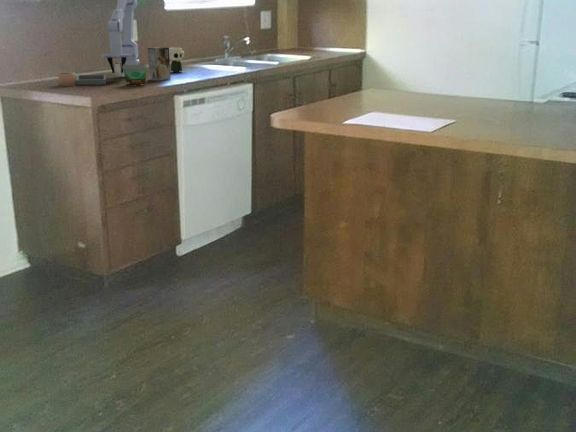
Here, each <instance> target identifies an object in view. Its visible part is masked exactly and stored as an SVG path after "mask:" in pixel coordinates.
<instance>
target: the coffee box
mask: <svg viewBox="0 0 576 432" xmlns="http://www.w3.org/2000/svg"><path fill="white" fill-rule="evenodd" d="M169 48H170V47H164V46H157V47H147V57H148V58H147V60H148V77H149V81H155V80H156V81H165V80H171V62H170V61H171V60H170V58H169Z"/></svg>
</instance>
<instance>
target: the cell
mask: <svg viewBox="0 0 576 432" xmlns="http://www.w3.org/2000/svg"><path fill="white" fill-rule="evenodd" d="M113 70H114V73H113V76H114V77H122V62H121V63H120V62H118V61H116V62H113Z"/></svg>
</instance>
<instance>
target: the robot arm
mask: <svg viewBox="0 0 576 432" xmlns="http://www.w3.org/2000/svg"><path fill="white" fill-rule="evenodd" d="M116 2H117V3H116V9H114V10H113V12H112V14H111V18H110V20H108V21H107V24H106V28H107V29H106V30H107V34H108V36H109V47H110V53H103V54H101V60H102V59H104V60H105V59H107V62H108V63H109V67H110V69H111V71H112V72H111V73H112V74H114V70H113V64H114V62H113V60H114V59H120V60H121V67H123V64H124V65H141V64H140V59H138V57H139V44H138V43H137V42H135V40H134V17H135V16H134V15H135V14H134V13H135V9H136V8H137V7H138V0H116ZM122 32H123V39H122ZM121 77H122V78H125V74H124V69H122V76H121Z"/></svg>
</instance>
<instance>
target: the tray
mask: <svg viewBox="0 0 576 432" xmlns="http://www.w3.org/2000/svg"><path fill="white" fill-rule="evenodd" d="M106 85H107V75H106V74H77V75H76V86H106Z"/></svg>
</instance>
